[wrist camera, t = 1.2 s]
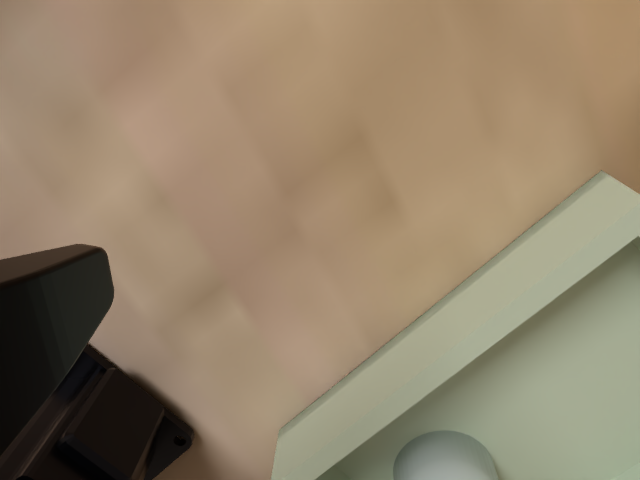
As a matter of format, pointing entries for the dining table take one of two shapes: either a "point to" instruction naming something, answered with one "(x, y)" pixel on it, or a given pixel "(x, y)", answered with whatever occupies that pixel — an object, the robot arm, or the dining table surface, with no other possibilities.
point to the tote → (505, 361)
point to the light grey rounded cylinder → (444, 458)
